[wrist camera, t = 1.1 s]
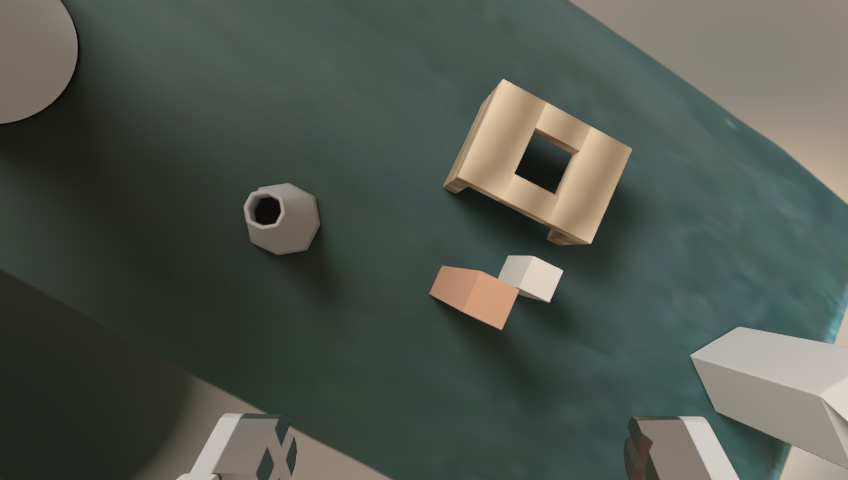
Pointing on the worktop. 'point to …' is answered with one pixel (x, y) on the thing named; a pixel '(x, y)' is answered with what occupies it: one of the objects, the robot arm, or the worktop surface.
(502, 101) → the tan block with hole
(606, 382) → the worktop surface
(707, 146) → the worktop surface
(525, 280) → the short block
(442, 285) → the long pin
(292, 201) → the flask
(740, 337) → the milk carton
